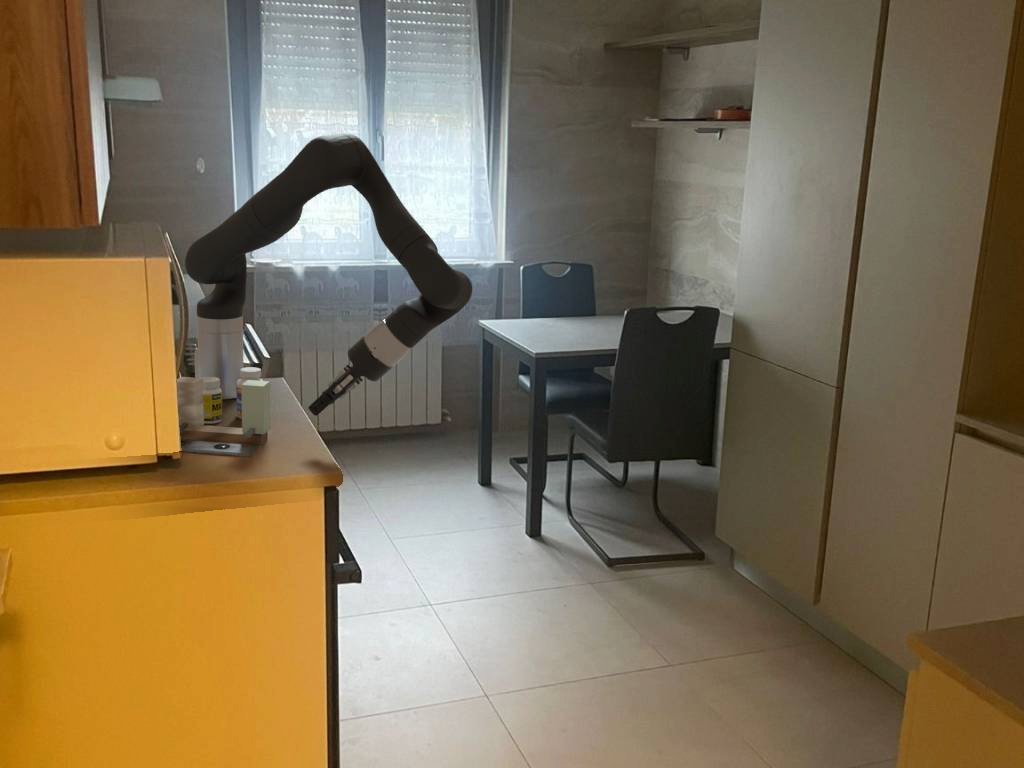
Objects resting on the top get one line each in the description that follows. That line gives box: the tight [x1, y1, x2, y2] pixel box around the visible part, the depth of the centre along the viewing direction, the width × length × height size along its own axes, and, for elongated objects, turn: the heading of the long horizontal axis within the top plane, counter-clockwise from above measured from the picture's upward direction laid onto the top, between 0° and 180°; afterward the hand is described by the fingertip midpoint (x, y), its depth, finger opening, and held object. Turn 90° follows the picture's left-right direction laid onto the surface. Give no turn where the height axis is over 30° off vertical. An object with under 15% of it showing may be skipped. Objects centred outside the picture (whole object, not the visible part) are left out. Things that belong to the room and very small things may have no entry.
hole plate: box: [181, 439, 261, 458], centre depth 171 cm, size 16×5×1 cm, turn 86°
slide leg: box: [241, 380, 271, 438], centre depth 173 cm, size 4×7×9 cm, turn 176°
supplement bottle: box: [203, 377, 223, 425], centre depth 187 cm, size 5×5×8 cm
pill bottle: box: [236, 366, 264, 420], centre depth 191 cm, size 5×5×10 cm
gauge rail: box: [176, 376, 268, 447], centre depth 174 cm, size 16×7×11 cm, turn 86°
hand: (312, 411), depth 174 cm, fingers closed
